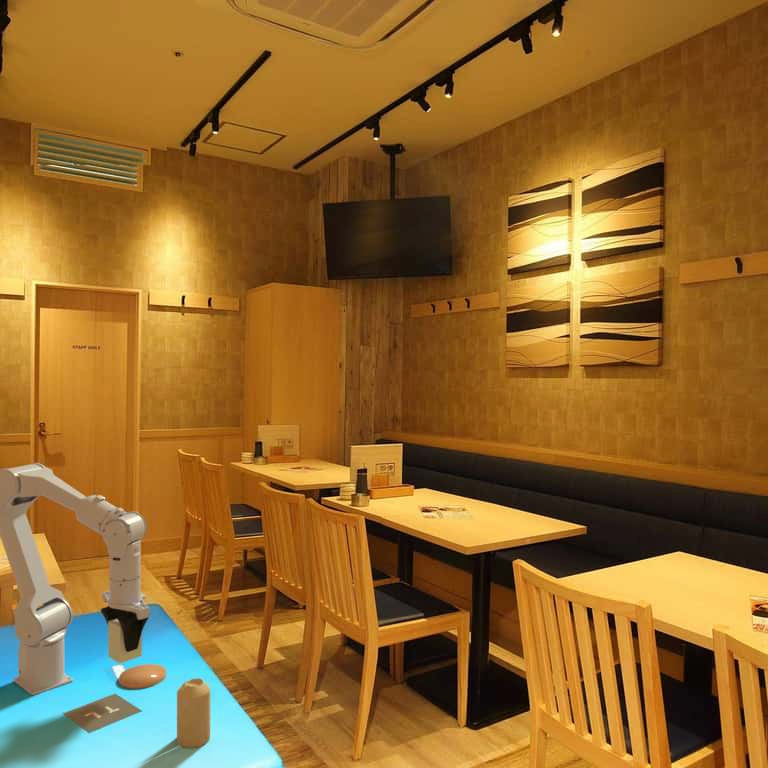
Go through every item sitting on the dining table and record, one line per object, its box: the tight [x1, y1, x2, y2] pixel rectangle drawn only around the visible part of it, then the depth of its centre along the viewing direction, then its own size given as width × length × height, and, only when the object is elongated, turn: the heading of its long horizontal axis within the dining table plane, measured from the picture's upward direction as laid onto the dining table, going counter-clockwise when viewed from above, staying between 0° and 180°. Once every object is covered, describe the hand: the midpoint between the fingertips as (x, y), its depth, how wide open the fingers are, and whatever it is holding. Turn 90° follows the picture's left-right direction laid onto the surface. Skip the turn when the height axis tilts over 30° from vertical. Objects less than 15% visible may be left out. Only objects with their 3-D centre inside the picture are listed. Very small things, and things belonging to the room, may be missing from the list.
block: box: [107, 619, 143, 664], centre depth 131 cm, size 4×4×7 cm
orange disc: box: [118, 663, 167, 690], centre depth 137 cm, size 9×9×1 cm
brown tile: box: [62, 693, 143, 734], centre depth 124 cm, size 10×10×1 cm
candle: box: [176, 678, 211, 749], centre depth 115 cm, size 6×6×10 cm
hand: (125, 646), depth 131 cm, fingers closed on block, 4 cm apart
